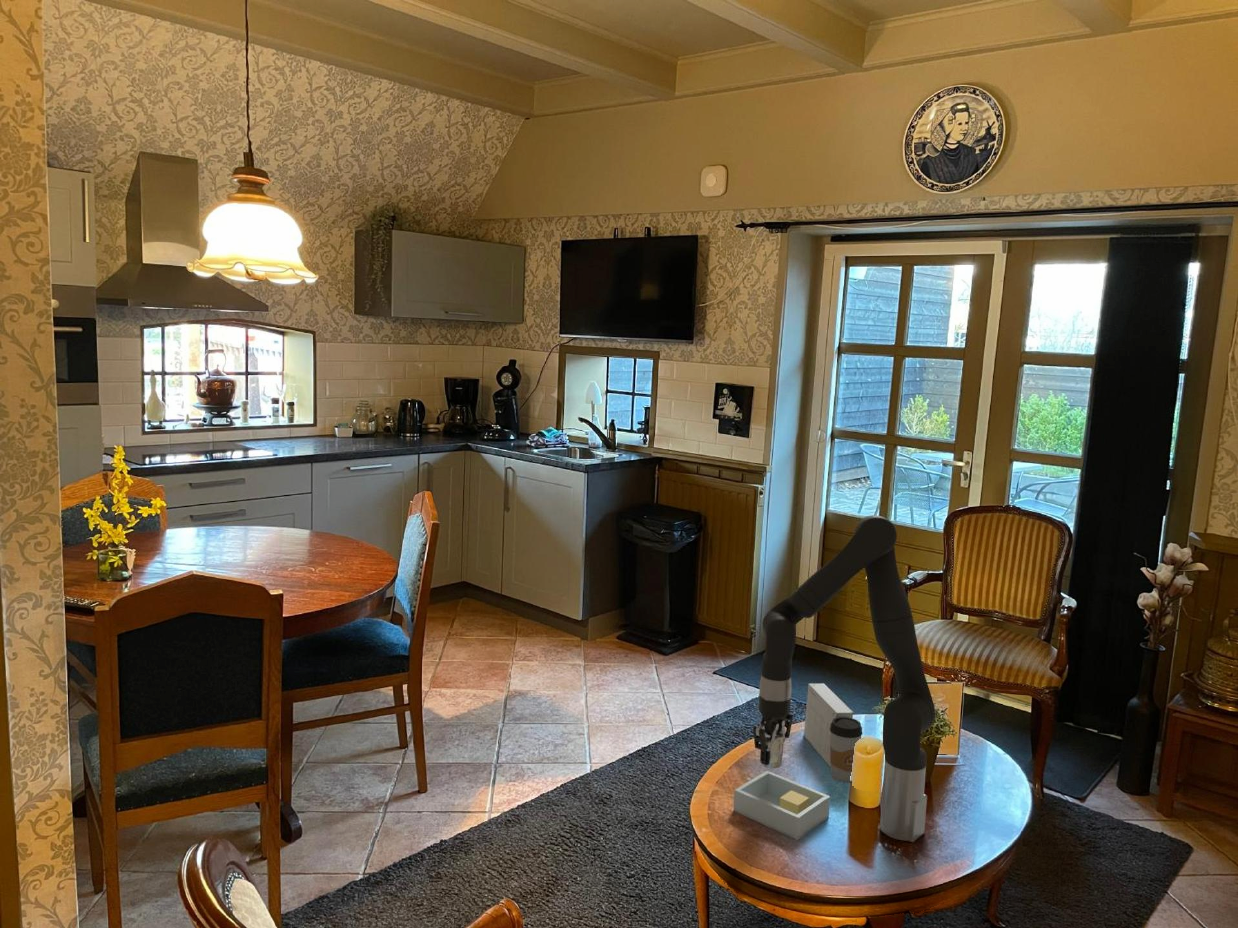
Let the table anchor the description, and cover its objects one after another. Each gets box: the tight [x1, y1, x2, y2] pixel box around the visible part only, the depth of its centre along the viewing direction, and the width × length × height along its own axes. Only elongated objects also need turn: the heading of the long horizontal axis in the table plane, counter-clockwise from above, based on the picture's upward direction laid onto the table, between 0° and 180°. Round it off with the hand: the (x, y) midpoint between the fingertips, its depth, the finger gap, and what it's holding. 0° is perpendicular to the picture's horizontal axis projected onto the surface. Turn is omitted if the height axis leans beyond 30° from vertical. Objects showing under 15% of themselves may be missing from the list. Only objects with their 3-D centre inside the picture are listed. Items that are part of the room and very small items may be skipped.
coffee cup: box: [830, 717, 863, 783], centre depth 243 cm, size 8×8×15 cm
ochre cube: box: [779, 791, 809, 814], centre depth 222 cm, size 5×5×5 cm
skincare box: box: [803, 683, 854, 768], centre depth 258 cm, size 21×5×16 cm, turn 9°
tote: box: [733, 770, 831, 841], centre depth 224 cm, size 18×14×6 cm
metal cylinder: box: [760, 734, 784, 769], centre depth 225 cm, size 5×5×7 cm
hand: (771, 759), depth 225 cm, fingers closed on metal cylinder, 5 cm apart
